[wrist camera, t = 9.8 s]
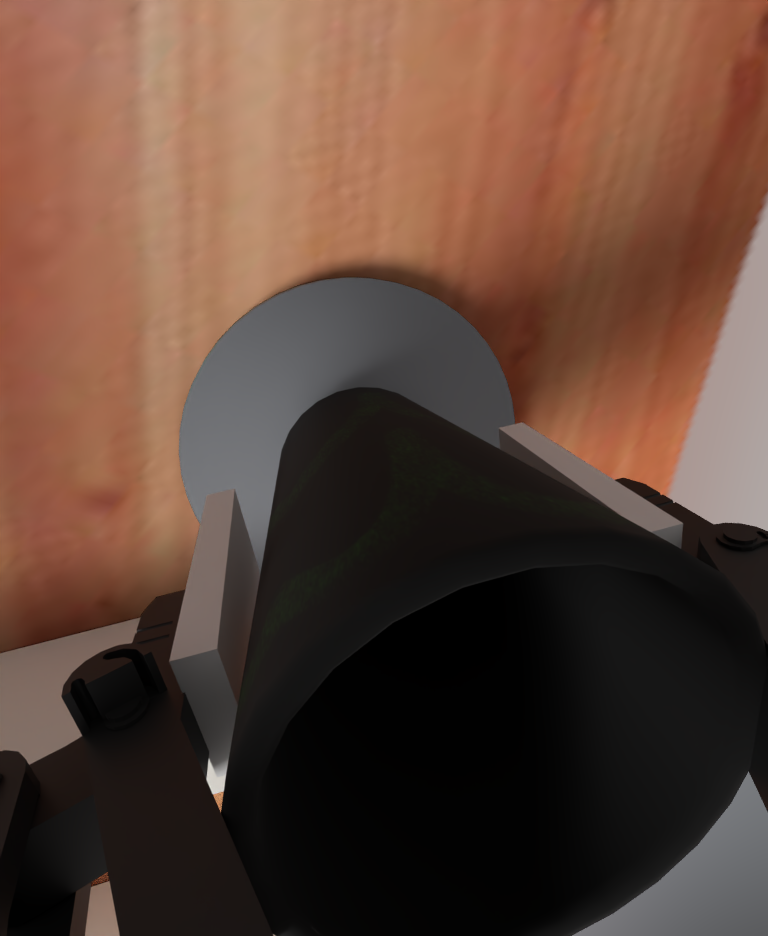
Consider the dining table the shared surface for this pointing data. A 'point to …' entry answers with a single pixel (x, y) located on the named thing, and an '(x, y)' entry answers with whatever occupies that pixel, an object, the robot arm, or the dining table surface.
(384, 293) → the felt pad
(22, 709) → the block
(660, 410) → the dining table surface
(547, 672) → the cup
